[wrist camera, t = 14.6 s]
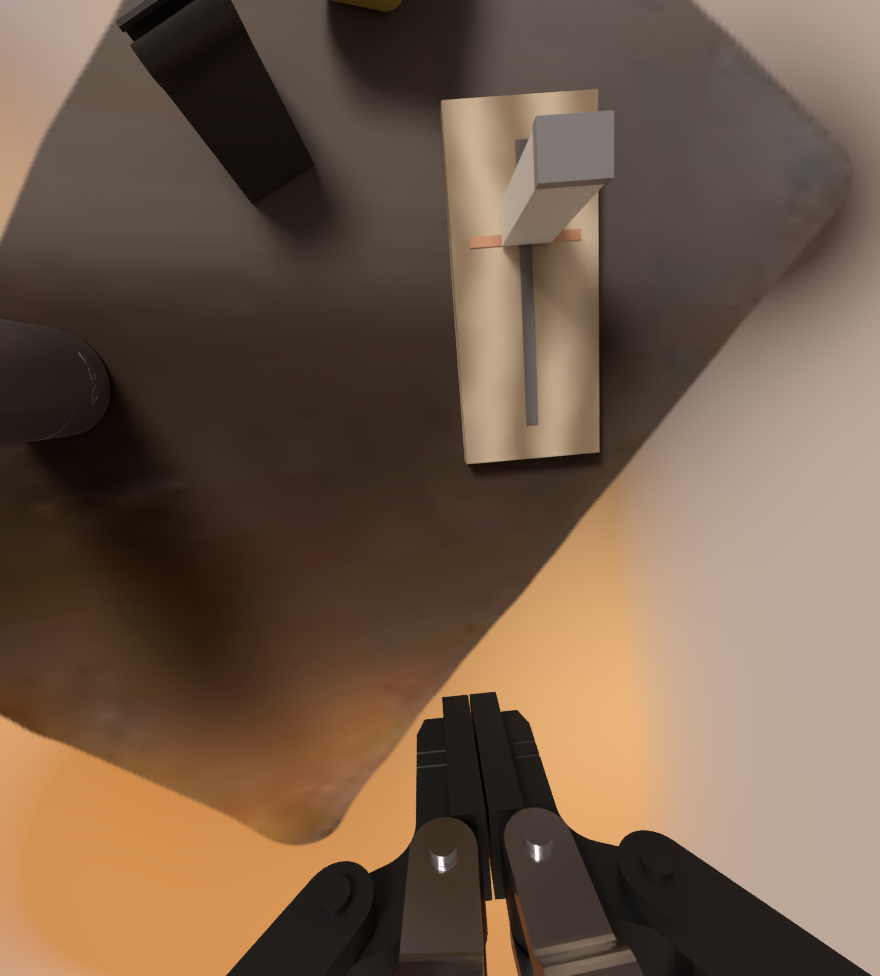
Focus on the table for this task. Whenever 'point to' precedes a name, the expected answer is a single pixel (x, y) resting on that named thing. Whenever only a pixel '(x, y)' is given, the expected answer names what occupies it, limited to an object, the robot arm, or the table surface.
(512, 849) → the robot arm
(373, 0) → the flower pot
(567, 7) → the table surface
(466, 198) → the wooden slider board
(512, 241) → the fader knob
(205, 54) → the phone stand
